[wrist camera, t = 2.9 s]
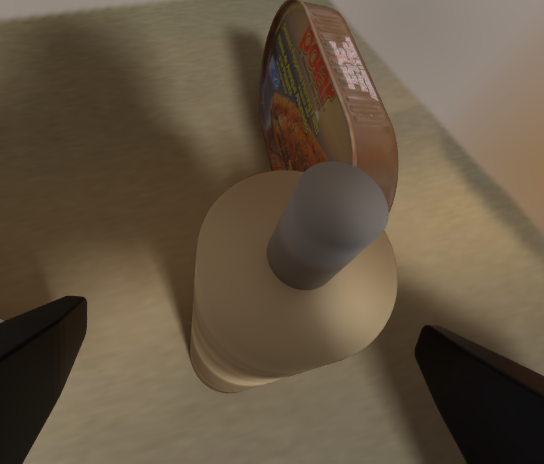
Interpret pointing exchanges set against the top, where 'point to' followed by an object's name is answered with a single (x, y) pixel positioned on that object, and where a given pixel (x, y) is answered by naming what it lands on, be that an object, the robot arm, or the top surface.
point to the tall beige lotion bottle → (290, 275)
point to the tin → (322, 98)
